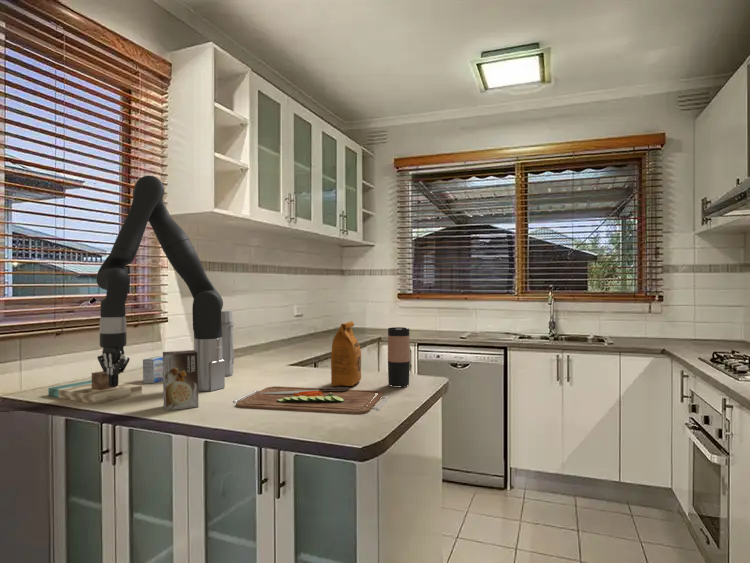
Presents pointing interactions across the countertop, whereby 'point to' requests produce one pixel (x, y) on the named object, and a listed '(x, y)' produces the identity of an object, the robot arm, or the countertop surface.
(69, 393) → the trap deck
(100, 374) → the walnut block
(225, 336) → the water bottle
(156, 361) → the medicine box
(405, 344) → the travel mug
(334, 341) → the coffee package
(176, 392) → the coffee box
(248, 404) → the chopping board
